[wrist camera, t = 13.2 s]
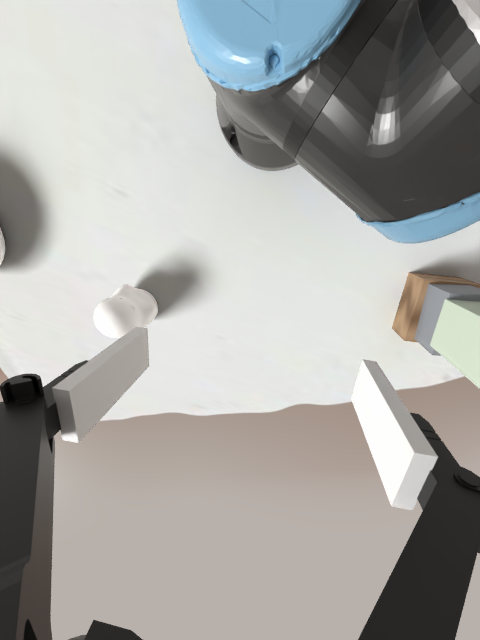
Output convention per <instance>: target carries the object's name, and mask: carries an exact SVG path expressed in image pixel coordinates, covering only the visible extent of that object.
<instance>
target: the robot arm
mask: <svg viewBox="0 0 480 640" xmlns="http://www.w3.org/2000/svg"><path fill="white" fill-rule="evenodd" d="M177 3H178V9H179V13H180V17H181V20H182V23H183V26H184V29H185V32H186V35H187V38H188V42H189V45H190V46H191V50H192V53H193V55H195V60H196V62H197V63H198V65H199V66H200V67H201V68H202V69H203V71H204V73H205V74H206V75H207V77H208V79H209V81H210V83H211V84H212V86H213V88H214V90H215V92H216V93H217V94H216V106H217V114H218V119H219V124H220V127H221V130H222V132H223V135H224V137H225V139H226V141H227V142H228V144H229V145H230V147H231V148H232V150H233V151H234V152H235V153H236V154H237V156H238V157H239V158H241V159H242V160H243V161H244V162H246V163H247V164H249V165H251V166H253V167H255V168H258V169H261V170H267V171H278V170H284V169H287V168H290V167H293V166H295V165H297V164H299V165H301V166H302V167H303V168H304V169H305V170H306V171H308V172H309V173H310V174H311V175H312V176H313V177H315V178H316V179H317V180H318V181H319V182H320V183H322V184H323V185H324V186H325V187H326V188H327V189H329V190H330V191H331V192H332V193H333V194H334V195H336V196H337V197H338V198H339V199H340V200H341V201H343V202H344V203H345V204H346V205H347V206H348V207H350V208H351V209H352V210H353V211H354V212H355V213H356V215H357V217H358V218H359V219H360V220H361V221H362V222H363V223H366V224H367V225H370V226H372V227H374V228H375V229H376V230H377V231H379V232H380V233H381V234H383V235H384V236H385V237H387V238H388V239H390V240H393V241H396V242H399V243H421V242H426V241H430V240H434V239H438V238H441V237H443V236H446V235H449V234H452V233H454V232H456V231H459V230H461V229H463V228H465V227H467V226H469V225H471V224H474V223H475V222H477V221H479V220H480V0H177ZM148 367H149V353H148V331H147V328H141V327H135V328H134V329H132V330H131V331H129V332H128V333H127V334H125V335H124V336H123V337H121V338H120V339H118V340H117V341H116V342H114V343H113V344H112V345H110V346H109V347H108V348H106V349H105V350H103V351H102V352H101V353H99V354H98V355H97V356H95V357H94V358H92V359H91V360H90V361H83V362H81V363H78V364H76V365H74V366H73V367H71V368H70V369H69V370H68V371H66V372H64V373H63V374H61V376H59V377H57V378H56V379H54V380H53V381H51V382H50V383H49V384H47V385H46V386H44V387H43V386H42V382H41V378H40V376H39V375H37V374H22V375H18V376H15V377H12V378H10V379H7V380H6V381H5V382H3V383H2V384H1V385H0V391H1V394H2V397H3V401H4V402H0V640H52V633H51V622H50V606H51V605H50V604H51V570H52V533H53V528H52V527H53V493H54V456H55V440H54V435H55V434H56V433H57V432H58V431H59V430H61V433H62V438H63V440H67V441H71V442H76V443H79V442H80V441H81V440H82V439H83V438H84V437H85V435H86V434H87V433H88V432H89V431H90V430H91V429H92V428H93V427H94V425H96V424H97V422H98V421H99V420H100V419H101V418H102V417H103V416H104V415H105V414H106V413H107V412H108V410H109V409H110V408H111V407H112V406H113V405H114V404H115V403H116V402H117V401H118V400H119V398H120V397H121V396H122V395H123V394H124V393H125V392H126V391H127V390H128V389H129V388H130V386H131V385H132V384H133V383H134V382H135V381H136V380H137V379H138V378H139V377H140V376H141V374H142V373H143V372H144V371H145V370H146V369H147V368H148ZM351 399H352V402H353V405H354V407H355V410H356V413H357V415H358V418H359V421H360V423H361V426H362V429H363V432H364V434H365V437H366V440H367V442H368V445H369V448H370V450H371V453H372V456H373V458H374V461H375V464H376V466H377V469H378V472H379V474H380V477H381V480H382V482H383V485H384V488H385V490H386V493H387V496H388V498H389V501H390V504H391V506H393V507H398V508H403V509H408V510H413V508H414V506H415V504H416V502H417V500H418V501H419V503H420V505H421V507H422V509H423V512H422V514H421V516H420V518H419V520H418V522H417V524H416V526H415V528H414V530H413V532H412V534H411V536H410V538H409V540H408V542H407V544H406V546H405V547H404V550H403V552H402V553H401V555H400V558H399V559H398V562H397V564H396V565H395V568H394V569H393V572H392V573H391V575H390V577H389V580H388V581H387V583H386V586H385V587H384V589H383V591H382V593H381V596H380V597H379V599H378V601H377V603H376V605H375V607H374V609H373V611H372V613H371V615H370V617H369V619H368V621H367V623H366V625H365V627H364V629H363V631H362V633H361V635H360V637H359V639H358V640H455V637H456V633H457V629H458V625H459V621H460V617H461V614H462V610H463V606H464V602H465V598H466V594H467V590H468V586H469V583H470V579H471V575H472V571H473V567H474V563H475V560H476V556H477V552H478V553H480V477H478V476H477V475H475V474H474V473H473V472H471V471H469V470H467V469H465V468H463V467H460V466H459V464H458V463H457V461H456V460H455V459H454V458H453V456H452V454H451V453H450V451H449V450H448V449H447V447H446V446H445V445H444V443H443V442H442V441H441V439H440V437H439V436H438V435H437V434H436V433H435V430H434V429H433V428H432V426H431V425H430V424H429V422H427V421H426V420H425V419H424V418H423V417H421V416H420V415H419V414H415V413H409V411H408V410H407V409H406V407H405V405H404V404H403V402H402V400H401V399H400V397H399V396H398V394H397V393H396V391H395V390H394V388H393V387H392V385H391V383H390V382H389V380H388V379H387V377H386V376H385V374H384V373H383V371H382V370H381V368H380V366H379V365H378V363H377V362H375V361H369V360H362V363H361V367H360V370H359V374H358V377H357V381H356V384H355V388H354V391H353V394H352V398H351ZM69 640H142V639H141V638H140V637H139V636H137V635H136V634H135V633H134V632H132V631H131V630H128V629H124V628H121V627H117V626H113V625H110V624H106V623H103V622H99V621H96V620H93V622H92V625H91V627H90V629H89V631H88V633H87V635H81V636H78V637H75V638H71V639H69Z"/></svg>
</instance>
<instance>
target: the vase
mask: <svg viewBox="0 0 480 640" xmlns="http://www.w3.org/2000/svg"><path fill="white" fill-rule="evenodd" d="M4 255H5V241H4V237H3V234H2V231H1V228H0V265H1V263H2V261H3V259H4Z"/></svg>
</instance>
